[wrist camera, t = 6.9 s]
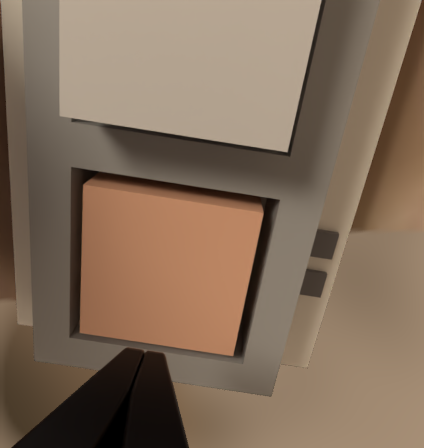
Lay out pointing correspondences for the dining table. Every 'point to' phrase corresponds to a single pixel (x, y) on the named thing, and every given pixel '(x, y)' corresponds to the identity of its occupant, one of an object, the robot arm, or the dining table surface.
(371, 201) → the dining table surface
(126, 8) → the grey key
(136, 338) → the clay key
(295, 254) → the grey piece
